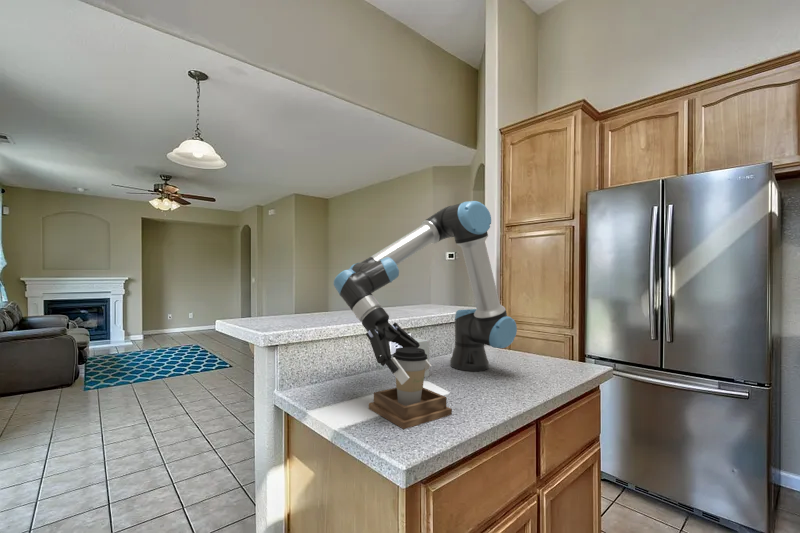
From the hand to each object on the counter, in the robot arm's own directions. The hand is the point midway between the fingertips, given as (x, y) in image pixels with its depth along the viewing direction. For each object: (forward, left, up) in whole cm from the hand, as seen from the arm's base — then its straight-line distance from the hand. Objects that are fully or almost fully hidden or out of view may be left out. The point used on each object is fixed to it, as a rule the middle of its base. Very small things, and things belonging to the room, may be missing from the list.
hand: (417, 375), depth 98 cm
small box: (-22, -28, -10) cm, 37 cm away
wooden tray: (+1, -2, -10) cm, 10 cm away
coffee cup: (+1, -2, -9) cm, 9 cm away
